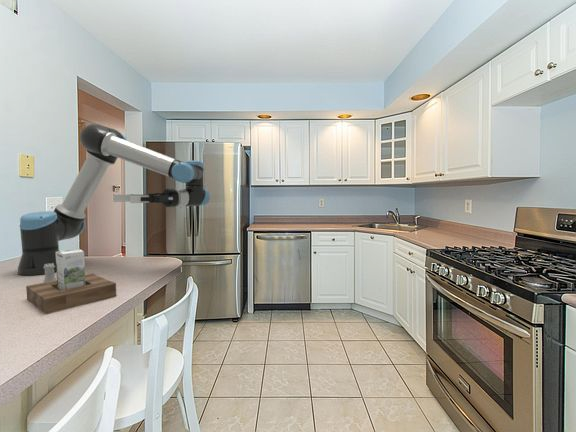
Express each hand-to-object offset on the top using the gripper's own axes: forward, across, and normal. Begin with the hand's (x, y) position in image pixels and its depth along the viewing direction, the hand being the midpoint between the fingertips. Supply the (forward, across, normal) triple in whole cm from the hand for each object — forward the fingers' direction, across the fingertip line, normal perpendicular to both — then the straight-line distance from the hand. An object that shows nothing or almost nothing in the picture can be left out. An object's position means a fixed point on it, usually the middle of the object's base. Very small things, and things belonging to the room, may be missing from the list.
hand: (121, 198), depth 117 cm
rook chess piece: (+21, +7, -30) cm, 37 cm away
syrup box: (+20, -10, -30) cm, 37 cm away
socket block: (+20, -10, -29) cm, 37 cm away
